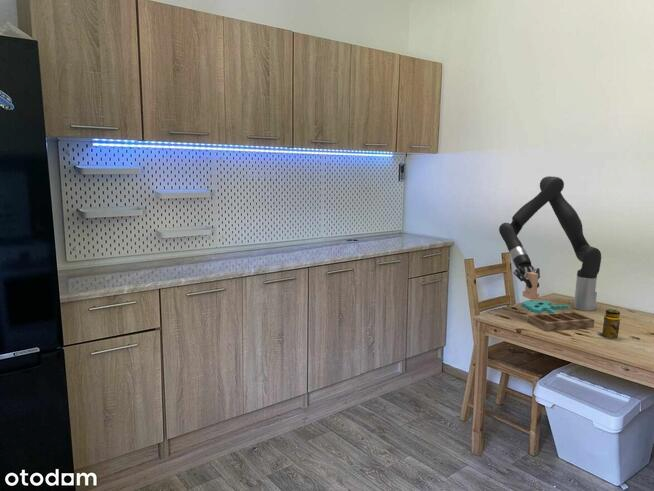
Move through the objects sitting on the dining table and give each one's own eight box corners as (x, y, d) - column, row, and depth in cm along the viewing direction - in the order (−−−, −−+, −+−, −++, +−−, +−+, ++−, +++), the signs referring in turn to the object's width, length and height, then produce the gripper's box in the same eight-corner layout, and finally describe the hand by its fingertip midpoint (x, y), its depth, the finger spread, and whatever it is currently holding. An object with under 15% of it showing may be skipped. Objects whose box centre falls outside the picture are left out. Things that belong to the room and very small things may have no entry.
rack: (572, 318, 235) (573, 311, 235) (593, 327, 223) (594, 319, 222) (527, 322, 229) (528, 314, 228) (546, 331, 217) (546, 323, 216)
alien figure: (568, 309, 253) (529, 302, 265) (568, 305, 253) (529, 298, 265) (558, 318, 238) (517, 310, 250) (558, 313, 237) (517, 306, 250)
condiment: (619, 340, 206) (622, 314, 204) (596, 337, 210) (599, 311, 208) (618, 335, 212) (621, 309, 210) (596, 332, 216) (599, 306, 214)
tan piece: (522, 296, 234) (524, 272, 232) (530, 295, 235) (532, 271, 233) (530, 299, 228) (532, 274, 226) (538, 298, 229) (540, 274, 227)
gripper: (511, 253, 233) (525, 284, 224) (536, 252, 237) (551, 282, 227) (504, 262, 239) (517, 292, 230) (528, 261, 243) (542, 290, 233)
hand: (534, 287), depth 228 cm, fingers closed on tan piece, 3 cm apart
